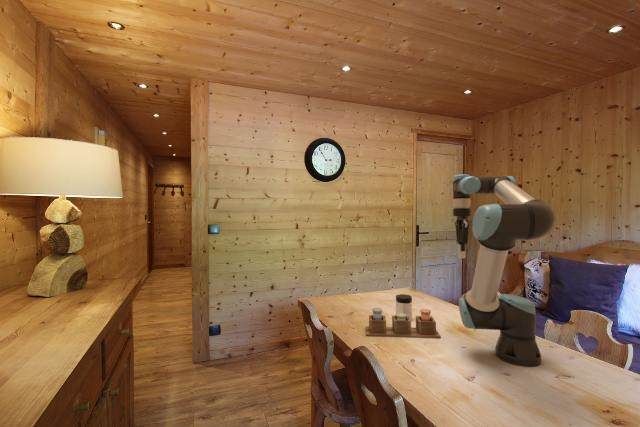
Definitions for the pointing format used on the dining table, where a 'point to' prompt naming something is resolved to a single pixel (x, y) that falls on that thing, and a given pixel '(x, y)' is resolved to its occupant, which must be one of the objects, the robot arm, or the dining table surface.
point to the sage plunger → (401, 316)
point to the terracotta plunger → (425, 314)
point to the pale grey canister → (377, 313)
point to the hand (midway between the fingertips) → (462, 257)
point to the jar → (404, 305)
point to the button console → (402, 328)
